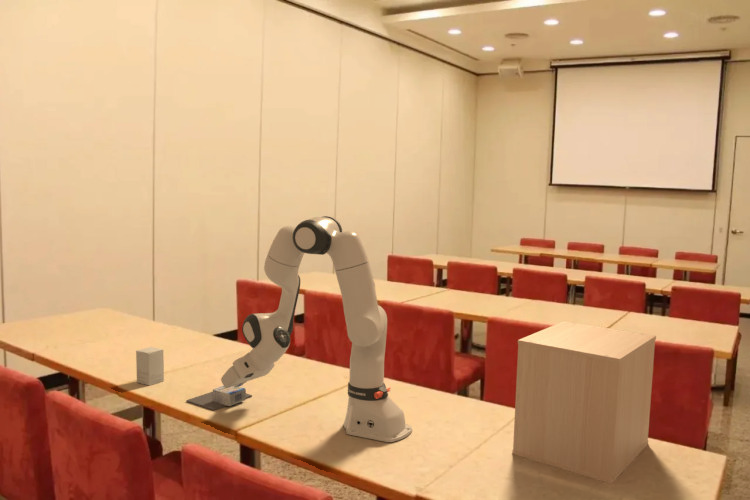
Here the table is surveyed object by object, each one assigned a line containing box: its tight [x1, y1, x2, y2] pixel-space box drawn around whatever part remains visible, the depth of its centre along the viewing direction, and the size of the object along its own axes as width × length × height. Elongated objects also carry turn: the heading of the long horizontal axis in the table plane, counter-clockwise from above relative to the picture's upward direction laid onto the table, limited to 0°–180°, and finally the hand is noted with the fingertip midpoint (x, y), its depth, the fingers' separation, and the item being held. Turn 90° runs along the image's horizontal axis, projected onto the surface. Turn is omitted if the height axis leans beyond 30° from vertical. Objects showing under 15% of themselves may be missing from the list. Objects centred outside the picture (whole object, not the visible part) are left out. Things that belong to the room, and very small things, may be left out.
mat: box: [186, 391, 253, 412], centre depth 231 cm, size 14×18×1 cm
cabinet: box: [511, 320, 657, 485], centre depth 194 cm, size 35×29×34 cm
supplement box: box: [135, 346, 165, 386], centre depth 248 cm, size 7×7×13 cm
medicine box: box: [212, 385, 247, 407], centre depth 227 cm, size 8×4×9 cm
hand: (237, 385), depth 225 cm, fingers closed
